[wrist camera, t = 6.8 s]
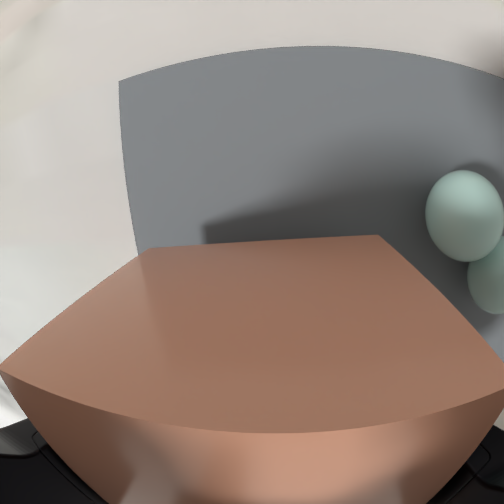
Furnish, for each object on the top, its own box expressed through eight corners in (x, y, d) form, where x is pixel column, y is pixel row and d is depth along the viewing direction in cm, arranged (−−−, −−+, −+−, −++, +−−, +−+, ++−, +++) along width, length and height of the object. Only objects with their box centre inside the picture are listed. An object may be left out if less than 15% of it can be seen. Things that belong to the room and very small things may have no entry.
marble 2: (495, 290, 9) (531, 321, 6) (449, 297, 10) (484, 335, 7) (506, 226, 8) (549, 247, 6) (458, 227, 9) (504, 252, 6)
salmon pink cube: (358, 403, 10) (379, 541, 4) (190, 404, 11) (142, 528, 5) (377, 234, 8) (518, 382, 2) (148, 248, 9) (-4, 367, 3)
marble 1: (469, 244, 9) (513, 271, 6) (409, 248, 9) (447, 280, 6) (473, 170, 8) (522, 178, 5) (410, 165, 8) (455, 170, 6)
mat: (474, 437, 13) (475, 441, 13) (213, 470, 16) (212, 474, 16) (550, 103, 6) (555, 102, 6) (123, 83, 9) (118, 81, 9)
